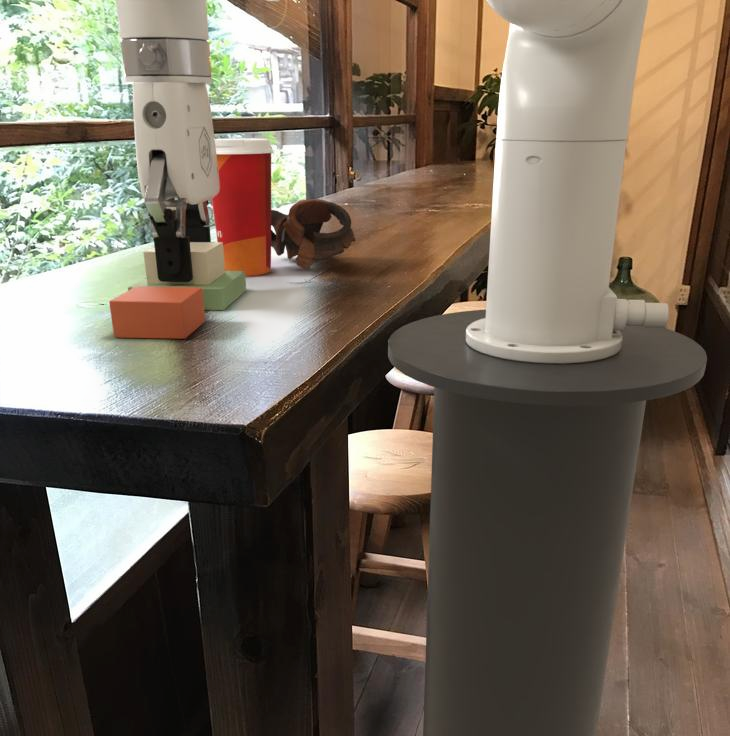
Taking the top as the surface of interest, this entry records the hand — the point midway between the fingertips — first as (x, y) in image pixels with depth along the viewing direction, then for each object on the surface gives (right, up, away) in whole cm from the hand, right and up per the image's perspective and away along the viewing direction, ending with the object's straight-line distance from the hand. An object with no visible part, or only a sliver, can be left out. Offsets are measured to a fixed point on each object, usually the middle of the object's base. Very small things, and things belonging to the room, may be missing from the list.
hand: (186, 272), depth 78 cm
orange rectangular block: (0, -7, -10) cm, 12 cm away
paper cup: (+4, +4, +14) cm, 15 cm away
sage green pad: (0, -2, +1) cm, 3 cm away
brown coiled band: (+10, +6, +19) cm, 23 cm away
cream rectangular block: (0, -1, 0) cm, 1 cm away
